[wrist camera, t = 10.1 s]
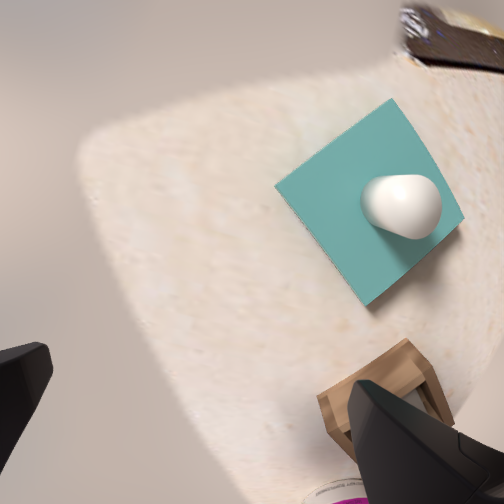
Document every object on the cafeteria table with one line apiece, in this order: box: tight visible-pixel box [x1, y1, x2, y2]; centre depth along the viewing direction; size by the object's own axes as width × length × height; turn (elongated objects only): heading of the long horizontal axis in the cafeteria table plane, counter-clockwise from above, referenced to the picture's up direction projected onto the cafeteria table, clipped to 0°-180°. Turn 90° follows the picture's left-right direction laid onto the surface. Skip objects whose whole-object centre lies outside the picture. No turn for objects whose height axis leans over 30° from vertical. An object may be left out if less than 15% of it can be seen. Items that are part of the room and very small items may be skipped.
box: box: [317, 338, 455, 463], centre depth 20 cm, size 8×8×4 cm
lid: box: [274, 98, 464, 306], centre depth 16 cm, size 9×9×6 cm
